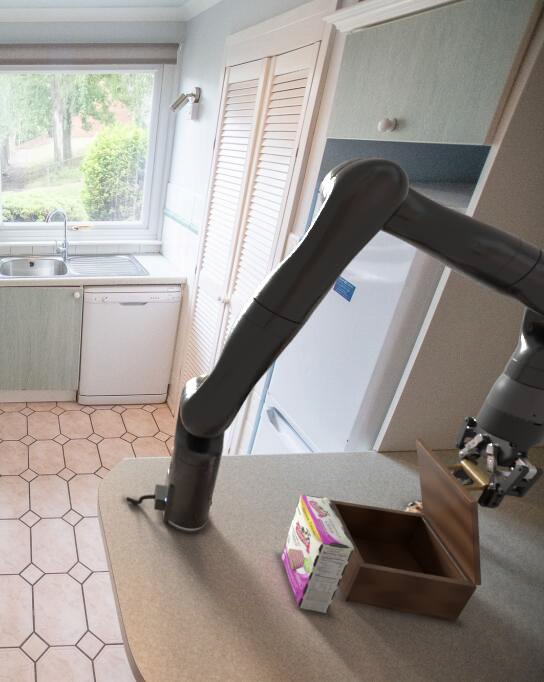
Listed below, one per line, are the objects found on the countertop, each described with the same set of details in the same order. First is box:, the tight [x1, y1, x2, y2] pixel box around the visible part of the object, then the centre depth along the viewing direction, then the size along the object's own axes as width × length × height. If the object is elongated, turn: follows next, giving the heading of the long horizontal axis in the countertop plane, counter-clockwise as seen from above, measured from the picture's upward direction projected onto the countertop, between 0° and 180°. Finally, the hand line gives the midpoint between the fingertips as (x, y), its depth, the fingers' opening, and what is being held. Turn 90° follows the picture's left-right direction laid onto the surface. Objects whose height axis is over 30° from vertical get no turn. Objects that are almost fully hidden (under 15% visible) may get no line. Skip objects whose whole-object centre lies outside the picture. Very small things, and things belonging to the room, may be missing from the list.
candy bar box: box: [280, 494, 354, 614], centre depth 80 cm, size 11×5×16 cm, turn 168°
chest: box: [329, 499, 478, 623], centre depth 84 cm, size 17×16×9 cm
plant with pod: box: [403, 456, 475, 514], centre depth 94 cm, size 8×11×20 cm
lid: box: [415, 437, 489, 586], centre depth 76 cm, size 18×16×6 cm
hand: (472, 490), depth 75 cm, fingers closed on lid, 6 cm apart
